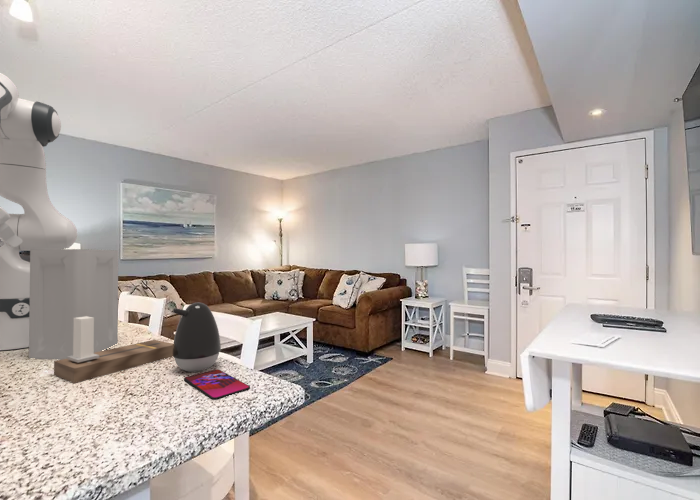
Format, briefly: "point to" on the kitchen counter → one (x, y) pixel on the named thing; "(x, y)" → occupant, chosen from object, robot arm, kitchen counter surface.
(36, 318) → the grey box
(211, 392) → the smartphone
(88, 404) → the kitchen counter surface
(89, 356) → the fader tab
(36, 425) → the kitchen counter surface
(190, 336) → the pump dispenser
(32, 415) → the kitchen counter surface
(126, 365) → the board
